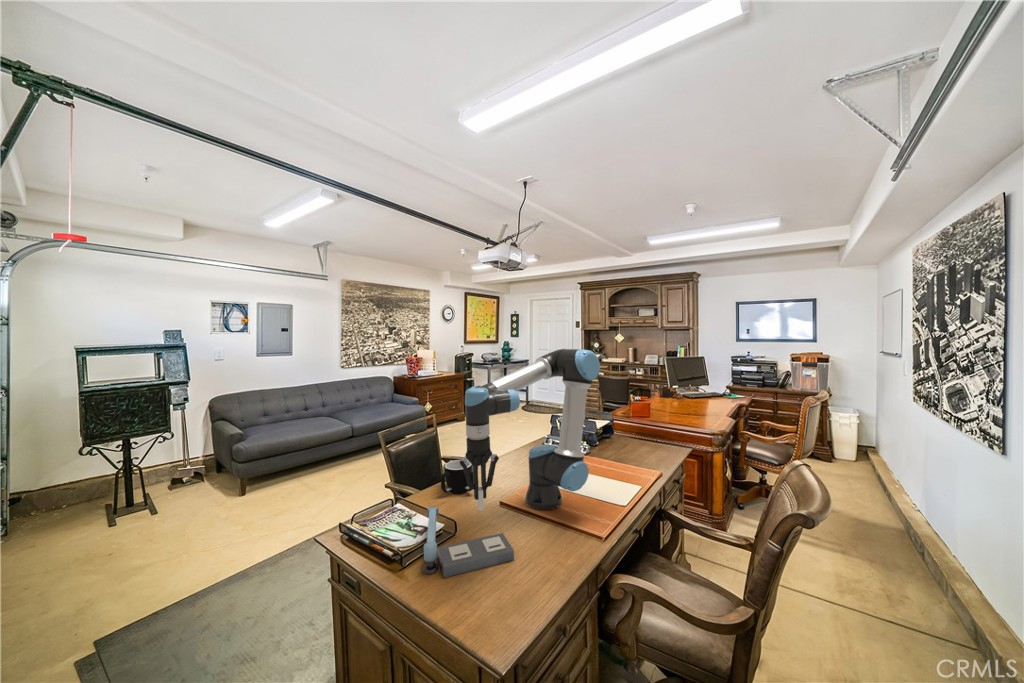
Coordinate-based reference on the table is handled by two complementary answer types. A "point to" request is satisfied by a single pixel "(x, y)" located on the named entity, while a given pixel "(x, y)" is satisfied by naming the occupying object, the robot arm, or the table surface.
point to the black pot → (456, 477)
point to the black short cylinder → (430, 567)
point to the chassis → (474, 554)
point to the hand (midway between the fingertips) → (480, 508)
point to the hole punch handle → (431, 535)
